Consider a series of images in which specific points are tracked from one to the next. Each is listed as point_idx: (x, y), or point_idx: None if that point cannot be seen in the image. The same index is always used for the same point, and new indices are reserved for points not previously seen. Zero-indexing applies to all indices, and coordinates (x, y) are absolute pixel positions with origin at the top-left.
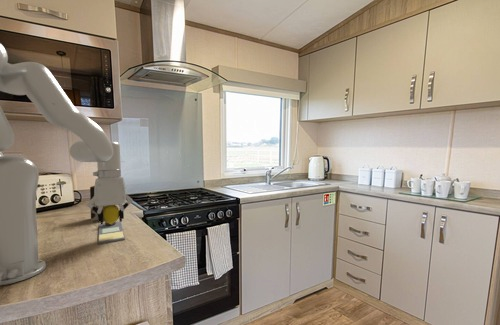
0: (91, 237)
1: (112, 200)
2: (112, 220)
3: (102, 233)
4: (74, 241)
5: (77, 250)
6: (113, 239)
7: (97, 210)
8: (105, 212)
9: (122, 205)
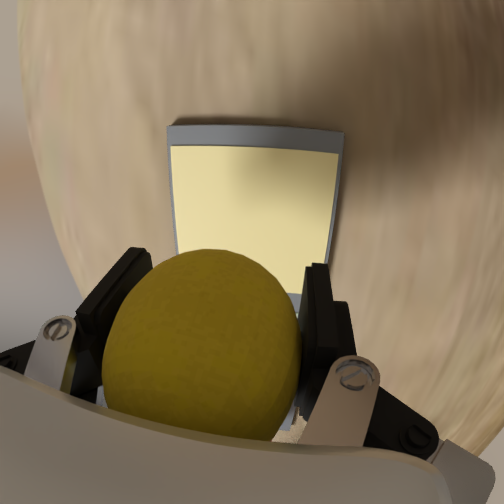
0: (357, 297)
1: (55, 490)
2: (205, 249)
3: (297, 311)
4: (438, 278)
5: (454, 97)
6: (239, 138)
7: (370, 408)
8: (267, 346)
9: (28, 369)
